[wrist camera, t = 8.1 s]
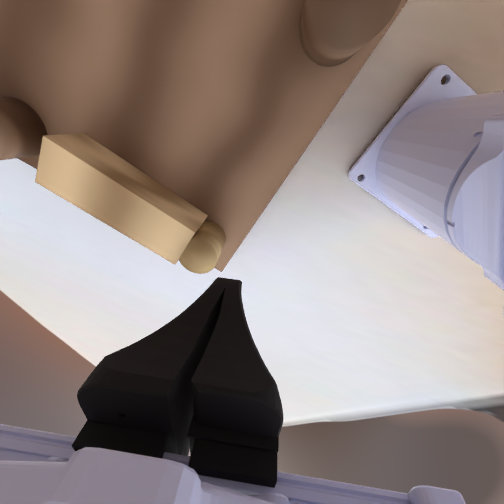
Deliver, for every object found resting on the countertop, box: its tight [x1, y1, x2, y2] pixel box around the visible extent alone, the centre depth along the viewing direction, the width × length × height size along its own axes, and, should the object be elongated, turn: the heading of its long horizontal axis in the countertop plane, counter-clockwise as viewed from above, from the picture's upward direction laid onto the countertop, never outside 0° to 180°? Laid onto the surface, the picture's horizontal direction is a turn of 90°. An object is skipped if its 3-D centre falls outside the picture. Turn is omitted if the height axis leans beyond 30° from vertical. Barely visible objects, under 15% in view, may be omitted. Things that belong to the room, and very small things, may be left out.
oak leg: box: [35, 133, 226, 274], centre depth 17 cm, size 12×3×3 cm, turn 55°
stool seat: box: [0, 0, 408, 272], centre depth 14 cm, size 20×20×6 cm
